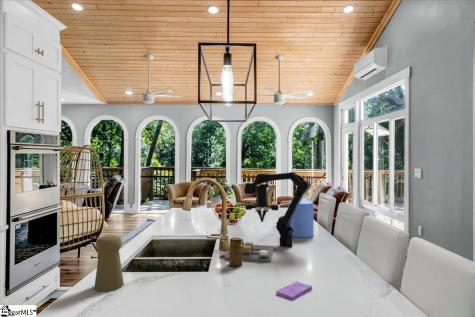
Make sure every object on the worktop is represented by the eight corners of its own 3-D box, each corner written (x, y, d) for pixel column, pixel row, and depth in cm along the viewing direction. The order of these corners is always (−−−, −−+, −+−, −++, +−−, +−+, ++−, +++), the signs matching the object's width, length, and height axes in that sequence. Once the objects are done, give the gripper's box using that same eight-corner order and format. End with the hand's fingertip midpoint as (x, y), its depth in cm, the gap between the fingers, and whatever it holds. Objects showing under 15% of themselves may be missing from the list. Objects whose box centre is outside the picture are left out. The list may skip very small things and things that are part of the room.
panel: (274, 248, 167) (274, 241, 168) (270, 262, 145) (270, 253, 145) (234, 246, 172) (234, 239, 172) (224, 259, 149) (224, 251, 149)
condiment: (240, 261, 147) (240, 236, 147) (247, 267, 139) (246, 240, 139) (225, 263, 144) (225, 237, 144) (231, 269, 136) (231, 242, 136)
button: (268, 255, 150) (268, 250, 150) (267, 257, 146) (267, 252, 146) (259, 254, 150) (259, 249, 151) (258, 257, 147) (258, 252, 147)
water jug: (319, 235, 195) (318, 191, 196) (301, 239, 187) (300, 192, 187) (300, 231, 208) (300, 189, 209) (283, 234, 200) (283, 190, 200)
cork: (105, 294, 112) (105, 241, 112) (88, 288, 117) (87, 237, 117) (129, 284, 121) (129, 235, 121) (112, 279, 126) (112, 232, 126)
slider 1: (253, 247, 163) (253, 242, 163) (252, 249, 160) (252, 243, 160) (245, 247, 164) (245, 241, 164) (244, 249, 161) (244, 243, 161)
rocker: (243, 241, 171) (243, 239, 170) (240, 248, 163) (240, 246, 163) (236, 240, 171) (236, 238, 171) (233, 247, 164) (233, 245, 163)
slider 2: (251, 251, 156) (251, 245, 156) (250, 253, 153) (250, 247, 153) (243, 251, 157) (243, 245, 157) (242, 253, 154) (242, 247, 154)
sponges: (312, 290, 114) (312, 285, 114) (292, 301, 106) (292, 296, 106) (296, 285, 119) (296, 280, 119) (275, 295, 111) (275, 290, 111)
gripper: (279, 193, 187) (279, 219, 186) (248, 193, 190) (248, 218, 190) (277, 195, 176) (278, 223, 176) (245, 195, 179) (245, 222, 179)
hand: (262, 221), depth 180 cm, fingers closed
